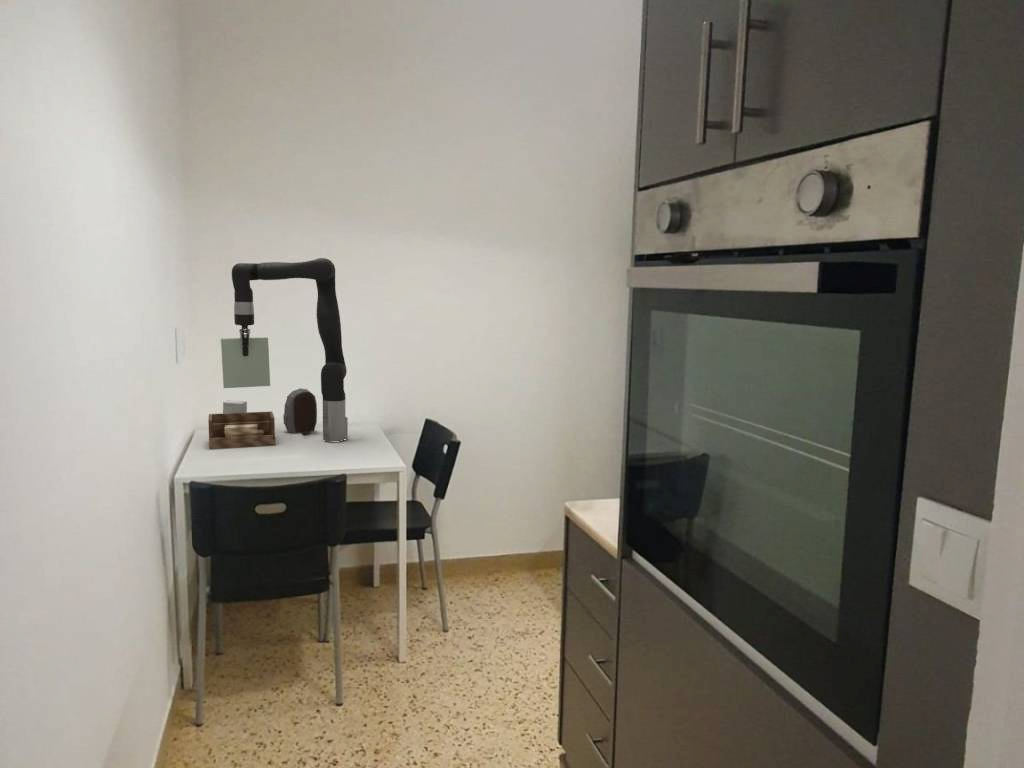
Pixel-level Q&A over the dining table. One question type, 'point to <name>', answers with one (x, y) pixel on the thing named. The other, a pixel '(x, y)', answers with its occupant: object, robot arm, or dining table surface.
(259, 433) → the offcut middle
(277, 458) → the dining table surface
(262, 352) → the sheet
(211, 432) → the rack
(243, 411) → the skincare box
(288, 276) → the robot arm
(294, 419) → the grey rounded bag
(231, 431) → the offcut top
